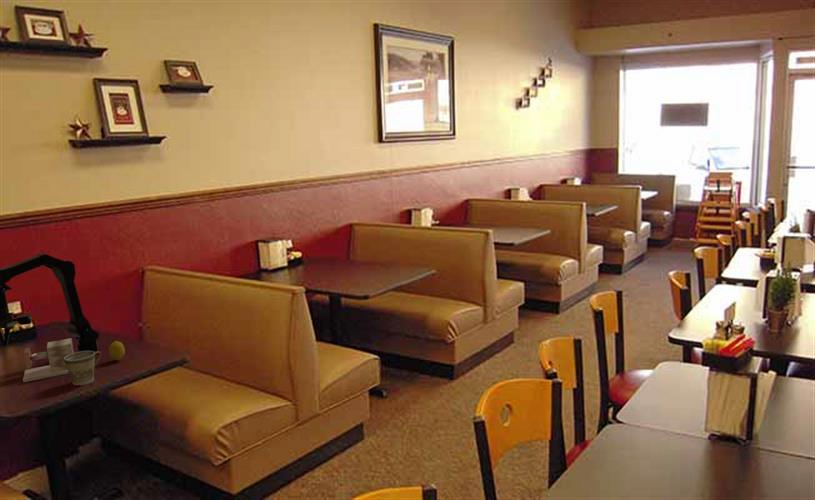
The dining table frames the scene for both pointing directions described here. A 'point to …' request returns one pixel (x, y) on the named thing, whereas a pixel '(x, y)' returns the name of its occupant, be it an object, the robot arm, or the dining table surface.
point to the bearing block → (59, 353)
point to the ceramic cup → (81, 366)
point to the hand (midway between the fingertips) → (5, 345)
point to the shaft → (33, 356)
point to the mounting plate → (41, 373)
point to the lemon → (116, 350)
